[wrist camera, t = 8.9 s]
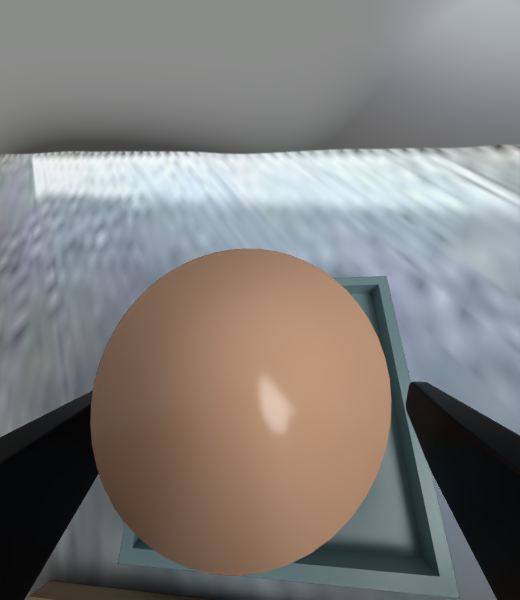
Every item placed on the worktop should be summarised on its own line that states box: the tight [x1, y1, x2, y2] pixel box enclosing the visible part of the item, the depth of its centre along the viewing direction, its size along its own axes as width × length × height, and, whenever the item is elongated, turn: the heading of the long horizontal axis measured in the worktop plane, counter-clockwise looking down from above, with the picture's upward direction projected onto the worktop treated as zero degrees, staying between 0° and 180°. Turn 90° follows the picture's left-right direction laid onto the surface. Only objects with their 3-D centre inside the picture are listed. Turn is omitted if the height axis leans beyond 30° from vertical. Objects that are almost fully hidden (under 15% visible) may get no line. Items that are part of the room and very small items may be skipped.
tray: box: [118, 276, 460, 599], centre depth 15 cm, size 15×15×2 cm
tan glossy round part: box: [90, 249, 392, 576], centre depth 10 cm, size 5×5×12 cm
